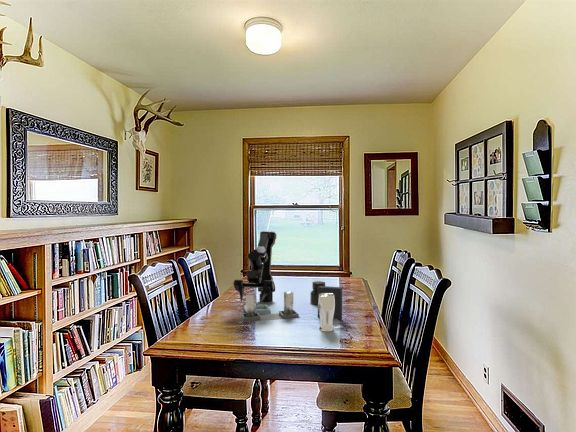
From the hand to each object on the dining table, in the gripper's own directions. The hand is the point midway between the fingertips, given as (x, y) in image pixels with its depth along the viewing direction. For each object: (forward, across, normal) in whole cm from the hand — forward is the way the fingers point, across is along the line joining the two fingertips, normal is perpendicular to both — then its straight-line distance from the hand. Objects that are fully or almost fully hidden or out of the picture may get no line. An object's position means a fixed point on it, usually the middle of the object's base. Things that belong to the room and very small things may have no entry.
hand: (250, 301), depth 189 cm
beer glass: (+13, +35, 0) cm, 38 cm away
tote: (-2, 0, +15) cm, 15 cm away
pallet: (+4, +8, +8) cm, 12 cm away
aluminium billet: (+6, 0, +5) cm, 8 cm away
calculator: (+2, +36, +11) cm, 38 cm away
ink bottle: (-18, +29, +31) cm, 46 cm away
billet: (+1, +17, +10) cm, 19 cm away
